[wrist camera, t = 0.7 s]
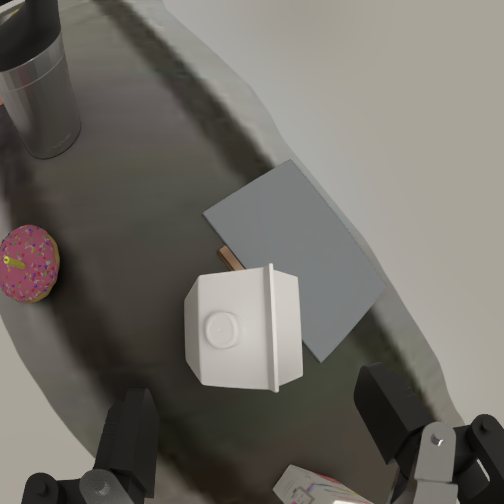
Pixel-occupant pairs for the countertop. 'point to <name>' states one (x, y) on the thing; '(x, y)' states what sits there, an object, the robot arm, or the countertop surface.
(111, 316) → the countertop surface
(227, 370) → the milk carton
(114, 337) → the countertop surface
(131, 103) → the countertop surface
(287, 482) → the ink cartridge box
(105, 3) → the countertop surface
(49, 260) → the cupcake
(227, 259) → the strip
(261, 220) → the mat
